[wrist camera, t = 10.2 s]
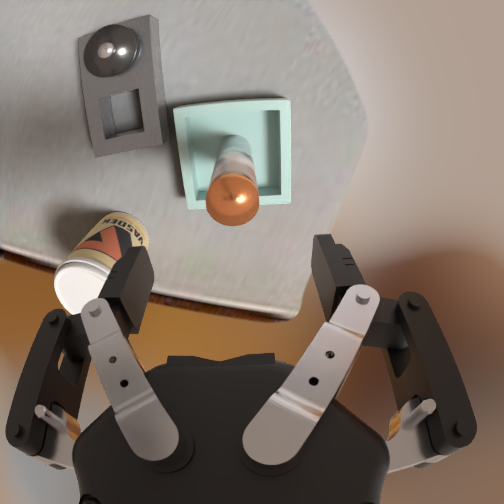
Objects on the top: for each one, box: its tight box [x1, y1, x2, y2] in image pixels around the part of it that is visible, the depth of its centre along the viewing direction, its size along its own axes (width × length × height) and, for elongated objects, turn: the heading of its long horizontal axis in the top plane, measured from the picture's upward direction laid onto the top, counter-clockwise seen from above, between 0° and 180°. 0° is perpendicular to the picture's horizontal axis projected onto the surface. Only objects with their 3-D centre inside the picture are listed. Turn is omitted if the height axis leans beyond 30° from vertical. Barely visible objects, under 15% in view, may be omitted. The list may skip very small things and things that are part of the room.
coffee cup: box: [54, 212, 149, 315], centre depth 30 cm, size 9×9×12 cm
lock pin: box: [206, 135, 259, 226], centre depth 23 cm, size 3×3×13 cm
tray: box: [173, 98, 291, 210], centre depth 28 cm, size 11×11×3 cm
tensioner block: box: [78, 15, 170, 158], centre depth 22 cm, size 14×8×5 cm, turn 3°
